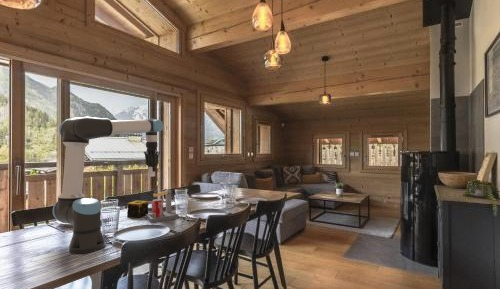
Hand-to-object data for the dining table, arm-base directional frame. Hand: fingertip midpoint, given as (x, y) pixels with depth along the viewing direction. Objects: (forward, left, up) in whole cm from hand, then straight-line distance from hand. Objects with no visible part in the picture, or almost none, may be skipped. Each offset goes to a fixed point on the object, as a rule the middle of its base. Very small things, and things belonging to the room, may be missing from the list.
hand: (152, 176), depth 187 cm
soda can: (+2, -5, -29) cm, 29 cm away
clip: (+6, -3, -13) cm, 15 cm away
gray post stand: (+5, -4, -28) cm, 29 cm away
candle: (-7, +11, -29) cm, 32 cm away
